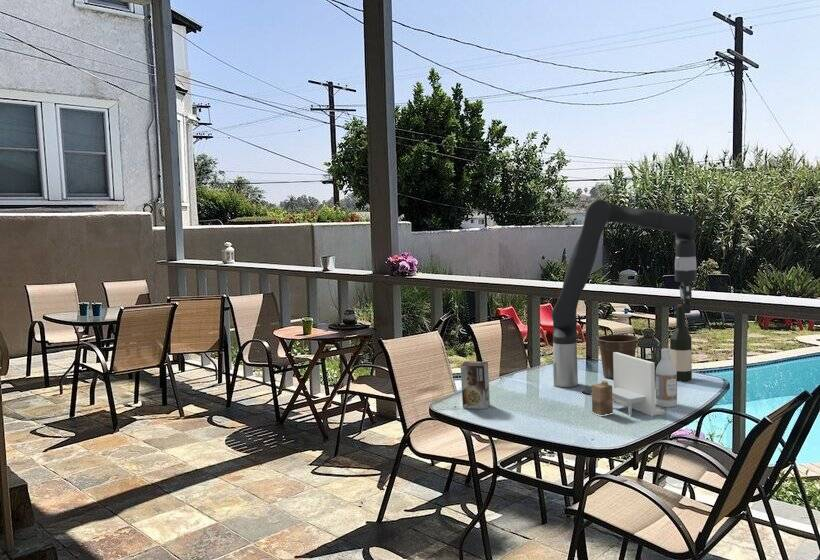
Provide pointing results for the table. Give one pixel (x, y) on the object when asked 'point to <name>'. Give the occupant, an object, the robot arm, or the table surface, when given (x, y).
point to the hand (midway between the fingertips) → (685, 311)
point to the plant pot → (615, 350)
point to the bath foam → (666, 381)
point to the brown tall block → (602, 398)
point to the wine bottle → (681, 348)
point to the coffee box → (475, 385)
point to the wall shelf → (634, 384)
